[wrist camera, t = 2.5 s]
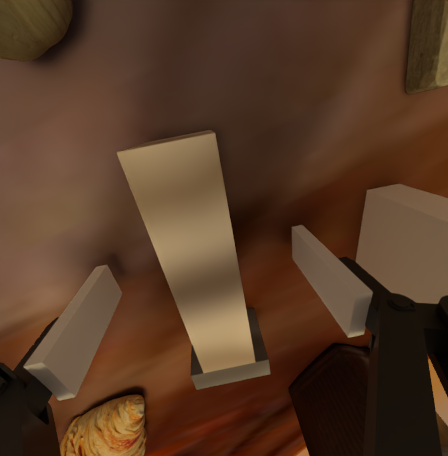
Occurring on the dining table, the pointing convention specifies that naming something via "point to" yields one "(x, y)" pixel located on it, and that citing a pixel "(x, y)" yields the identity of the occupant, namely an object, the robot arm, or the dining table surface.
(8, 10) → the fennel bulb
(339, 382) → the dark brown crank device
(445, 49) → the decorative tile
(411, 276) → the cream flat block
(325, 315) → the dining table surface
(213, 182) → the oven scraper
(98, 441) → the croissant
